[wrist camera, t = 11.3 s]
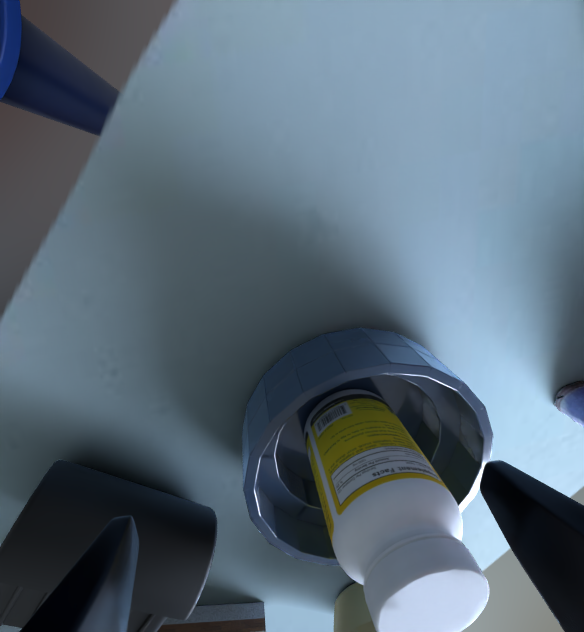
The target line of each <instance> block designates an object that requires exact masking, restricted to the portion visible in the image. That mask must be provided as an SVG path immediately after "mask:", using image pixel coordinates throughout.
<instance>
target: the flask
mask: <svg viewBox="0 0 584 632" xmlns="http://www.w3.org/2000/svg"><path fill="white" fill-rule="evenodd" d="M559 396H563V397H562V398H559V399H557V398H558V397H559ZM555 401H556V402H555V403H554V405H555V406H556V407H557V409H558V410H559V411H560V412H562V413H563V414H565V415H567V416H569V417H570V418H571V419H572V420H573V421H575V422H576V423H578V424H580V425H581V426H583V427H584V381H579V382H576V383H574V384H571V385H567V386H566V387H562V389H561V390H560V391H559V392H558V393H557V394H556V400H555Z"/></svg>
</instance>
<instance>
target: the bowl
mask: <svg viewBox="0 0 584 632" xmlns="http://www.w3.org/2000/svg"><path fill="white" fill-rule="evenodd" d="M349 389H360V390H366V391H369V392H372V393H374V394H376V395H378V396H379V397H381V398H382V399H383V400H384V401H385V402H386V403H387V404H388V405H389V406H390V408H391V409H392V410H393V412H394V413H395V414H396V416H397V417H398V419H399V420H400V421H401V423H402V424H403V426H404V427H405V429H406V430H407V431H408V433H409V434H410V436H411V437H412V439H413V440H414V441H415V443H416V444H417V446H418V447H419V448H420V450H421V451H422V453H423V454H424V456H425V457H426V458H427V460H428V461H429V462H430V464H431V465H432V467H433V468H434V470H435V471H436V473H437V474H438V475H439V477H440V478H441V480H442V481H443V483H444V484H445V486H446V487H447V488H448V490H449V491H450V493H451V494H452V496H453V498H454V499H455V501H456V503H457V505H458V507H459V509H460V512H462V511H463V510H464V508H465V507H466V506H467V505H468V504H469V503H470V501H471V500H472V499H473V498H474V497H475V496H476V494H477V492H478V490H479V487H480V480H481V477H482V473H483V469H484V465H485V464H486V463H487V462H490V460H491V451H492V443H493V432H492V429H491V425H490V422H489V418H488V415H487V411H486V408H485V406H484V405H483V403H482V402H481V401H480V400H479V399H478V398H477V396H476V395H475V394H474V393H473V392H472V391H471V390H470V388H469V387H468V386H467V385H466V384H465V383H464V382H463V381H462V380H461V379H460V378H459V377H457V376H456V375H455V374H454V373H453V372H452V371H451V370H449V369H448V368H447V367H446V366H445V365H444V364H443V363H441V362H440V361H439V360H438V359H437V358H436V357H435V356H433V355H432V354H431V353H430V352H429V351H428V350H427V349H425V348H424V347H423V346H422V345H420V344H418V343H416V342H414V341H412V340H410V339H408V338H406V337H404V336H402V335H400V334H398V333H396V332H392V331H384V330H376V329H368V328H354V329H348V330H343V331H337V332H332V333H326V334H322V335H320V336H318V337H316V338H314V339H312V340H310V341H308V342H306V343H304V344H302V345H300V346H298V347H296V348H294V349H292V350H290V351H289V352H288V353H287V354H286V355H285V356H284V357H283V358H282V359H281V360H279V361H278V362H277V363H276V364H275V365H274V366H273V367H272V368H271V369H270V370H269V371H268V372H266V373H265V374H264V376H263V377H262V379H261V380H260V382H259V384H258V386H257V387H256V389H255V391H254V393H253V394H252V396H251V398H250V400H249V401H248V403H247V407H246V413H245V419H244V425H243V431H242V452H243V491H244V495H245V499H246V503H247V507H248V512H249V516H250V519H251V521H252V522H253V523H254V524H255V526H256V527H257V528H258V530H259V531H260V532H261V533H262V535H263V536H264V537H265V538H266V540H267V541H268V542H269V543H270V544H271V545H273V546H275V547H277V548H278V549H280V550H282V551H283V552H285V553H287V554H289V555H290V556H292V557H294V558H296V559H300V560H304V561H309V562H313V563H318V564H322V565H327V566H329V565H340V564H339V562H338V560H337V558H336V555H335V553H334V550H333V546H332V543H331V539H330V535H329V532H328V528H327V524H326V520H325V516H324V513H323V509H322V505H321V502H320V498H319V494H318V491H317V487H316V483H315V479H314V476H313V472H312V468H311V464H310V461H309V457H308V453H307V450H306V445H305V440H304V429H305V425H306V421H307V419H308V417H309V415H310V413H311V412H312V410H313V409H314V408H315V407H316V406H317V405H318V404H319V403H320V402H321V401H322V400H324V399H325V398H327V397H328V396H330V395H332V394H334V393H336V392H339V391H343V390H349Z"/></svg>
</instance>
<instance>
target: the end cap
mask: <svg viewBox="0 0 584 632" xmlns="http://www.w3.org/2000/svg"><path fill="white" fill-rule="evenodd" d="M128 515H130V516H132V517H133V519H134V523H135V526H136V530H137V534H138V538H139V552H138V559H137V566H136V572H135V579H134V586H133V593H132V599H131V606H130V613H129V619H128V625H127V631H126V632H157V631H158V630H159V628H160V627H161V625H162V624H163V623H164V621H165V620H166V619H167V617H168V618H173V619H178V620H182V621H185V620H187V619H188V617H189V616H190V614H191V613H192V611H193V609H194V607H195V606H196V604H197V602H198V600H199V598H200V595H201V593H202V591H203V588H204V586H205V583H206V580H207V577H208V574H209V571H210V568H211V564H212V560H213V556H214V551H215V546H216V538H217V518H216V515H215V512H214V511H213V510H212V509H211V508H209V507H206V506H203V505H201V504H198V503H195V502H192V501H189V500H186V499H182V498H179V497H176V496H173V495H170V494H167V493H164V492H161V491H158V490H155V489H152V488H149V487H146V486H143V485H139V484H136V483H133V482H130V481H127V480H124V479H121V478H118V477H115V476H112V475H109V474H106V473H103V472H99V471H96V470H93V469H90V468H87V467H84V466H81V465H78V464H75V463H72V462H69V461H65V460H57V461H56V462H54V463H53V465H52V466H51V467H50V469H49V470H48V471H47V473H46V474H45V476H44V477H43V479H42V480H41V482H40V483H39V485H38V486H37V488H36V489H35V491H34V492H33V494H32V496H31V497H30V499H29V500H28V502H27V504H26V505H25V507H24V508H23V510H22V512H21V513H20V515H19V516H18V518H17V520H16V521H15V523H14V525H13V526H12V528H11V530H10V531H9V533H8V535H7V536H6V538H5V540H4V541H3V543H2V545H1V546H0V626H1V625H8V626H14V627H19V628H23V627H24V625H25V624H26V623H27V622H28V621H29V619H30V618H31V617H32V616H33V614H34V613H35V612H36V611H37V610H38V608H39V607H40V606H41V605H42V603H43V602H44V601H45V600H46V599H47V597H48V596H49V595H50V594H51V592H52V591H53V590H54V589H55V588H56V586H57V585H58V584H59V583H60V581H61V580H62V579H63V578H64V577H65V575H66V574H67V573H68V572H69V570H70V569H71V568H72V567H73V566H74V564H75V563H76V562H77V561H78V559H79V558H80V557H81V556H82V555H83V553H84V552H85V551H86V550H87V548H88V547H89V546H90V545H91V544H92V542H93V541H94V540H95V539H96V537H97V536H98V535H99V534H100V533H101V531H102V530H103V529H104V528H105V526H106V525H107V524H108V523H109V522H110V521H111V520H112V519H113V518H115V517H121V516H128Z"/></svg>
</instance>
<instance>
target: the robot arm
mask: <svg viewBox="0 0 584 632" xmlns="http://www.w3.org/2000/svg"><path fill="white" fill-rule="evenodd" d="M480 491H481V493H482V496H483V497H484V499H485V501H486V503H487V505H488V507H489V509H490V510H491V512H492V514H493V516H494V518H495V520H496V522H497V523H498V525H499V527H500V529H501V531H502V533H503V535H504V536H505V538H506V540H507V542H508V544H509V546H510V547H511V549H512V551H513V552H514V554H515V556H516V557H517V559H518V561H519V562H520V564H521V565H522V567H523V568H524V570H525V572H526V573H527V574H528V576H529V578H530V579H531V581H532V582H533V584H534V585H535V587H536V588H537V590H538V592H539V593H540V595H541V596H542V598H543V599H544V601H545V602H546V604H547V605H548V606H549V609H550V610H551V612H552V613H553V615H554V616H555V618H556V619H557V621H558V622H559V624H560V625H561V627H562V629H563V630H564V631H565V632H584V505H582V504H580V503H578V502H576V501H575V500H573V499H571V498H569V497H567V496H566V495H564V494H562V493H560V492H558V491H556V490H555V489H553V488H551V487H549V486H547V485H546V484H544V483H542V482H540V481H538V480H537V479H535V478H533V477H531V476H529V475H528V474H526V473H524V472H522V471H520V470H519V469H517V468H515V467H513V466H511V465H509V464H508V463H506V462H504V461H500V460H497V461H491V462H487V463H486V464H485V465H484V469H483V473H482V477H481V480H480ZM138 552H139V538H138V534H137V530H136V526H135V523H134V519H133V517H132V516H130V515H128V516H121V517H115V518H113V519H112V520H111V521H110V522H109V523H108V524H107V525H106V526H105V528H104V529H103V530H102V531H101V533H100V534H99V535H98V536H97V537H96V539H95V540H94V541H93V542H92V544H91V545H90V546H89V547H88V548H87V550H86V551H85V552H84V553H83V555H82V556H81V557H80V558H79V559H78V561H77V562H76V563H75V564H74V566H73V567H72V568H71V569H70V570H69V572H68V573H67V574H66V575H65V577H64V578H63V579H62V580H61V581H60V583H59V584H58V585H57V586H56V588H55V589H54V590H53V591H52V592H51V594H50V595H49V596H48V597H47V599H46V600H45V601H44V602H43V603H42V605H41V606H40V607H39V608H38V610H37V611H36V612H35V613H34V614H33V616H32V617H31V618H30V619H29V621H28V622H27V623H26V624H25V625H24V627H23V628H22V629H21V630H20V632H126V631H127V625H128V619H129V613H130V606H131V599H132V593H133V586H134V579H135V572H136V566H137V559H138Z"/></svg>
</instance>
